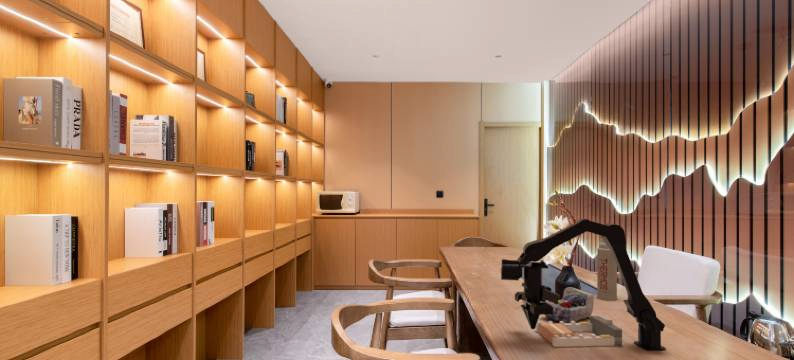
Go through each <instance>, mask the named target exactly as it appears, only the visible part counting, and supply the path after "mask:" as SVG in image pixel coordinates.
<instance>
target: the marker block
mask: <svg viewBox="0 0 794 360" xmlns="http://www.w3.org/2000/svg"><path fill="white" fill-rule="evenodd" d="M539 334H540V335H541V336H542V337H543V338H545V339H546V340H547V341H548V342H550V344H552V337H554V335H558V336H559V337H566V334H569V335H571V337H575V332H571V331H570V330H568V329H567V328H566V327H564V326H563V325H561V324H557V323H553V324H552V323H542V324H540V333H539Z"/></svg>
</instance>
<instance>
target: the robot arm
mask: <svg viewBox="0 0 794 360" xmlns="http://www.w3.org/2000/svg"><path fill="white" fill-rule="evenodd" d="M586 232H589V233H590V234H591V233H592V234H595V235H598V236H600V238H601V237H602V238H603V240H604V242H605V243H606V245H607V246H608V248H609V249H610V250H611V252H612V254H613V256H614V259H615V262H616V264H617V271H618V272H619V275H620V277H621V280H622V283H623V285H624V288H625V290H626V292H627V299H623V303H624V305H625V306H626V312H627V313H628V314H630V316H631V317H632V318H633V319H635V322H636V323H637V324H638V325H637V326H638V328H637V336H638V337H637V341H636V340H634V341H633V344H635V345H636V346H639V347H640V348H642V349H644V350H645V351H661V350H663V351H664V350H665V351H666V350H667V348H666V347H665V346H663V345H662V332H663V331H664V329H665V326H666V325H665V323H663V321H662V320H661V319H659V318H658V316H657V312H656V310H655V309H654V307H653V305H652V304H651V302H650V301H649V299H648V297H646V295H645V294H644V293H643V290H642V287H641V284H640V283H639V279H638V277H637V275H636V274H637V273H636V272H635V269H634V267H633V266H634V265H633V264H632V261H631V259H630V256H629V253H628V251H627V237H626V232H625V230H624V228H623V227H622V226H621V225H619V224H615V223H612V222H607V223H599V222H597V221H592V220H590V219H588V218H579V219H578V220H577V221H576V222H574V223H571V224H570V225H568V226H566V227H565V228H564V227H563V228H562V229H560V230H559V231H556V232H554V233H553V234H552V233H551V235H548V236H547V237H544V238H539V239H535V240H532V241H530V242H527V243H525V244H524V246H523V249H522V253H521V254H520V255H519V256H518V258H517V259H506V258H501V267H500V280H501V281H519V279H521V278H523V282H521V287H523V291H516V292H515V293H514V301H516V302H520V301H521V302H522V304H520V308H521V309H522V311H523V314H524V315H525V318H526V320H527V322H528V325H529V327H530V329H531V330H536V324H537V322H538V321H539V317H540V316H541V315H542V316H543V315H544V316H545V315H550V314H553V307H552V306H551V305H550V304H548V303H547V302H546V301H550V302H553V303H554V304H556V305H557V304H558V301H559V300H560V297H561V295H560V294H558V293H557V292H555V291H552V288H551V287H549V286H547V285H544V284H543V269H549V266H548V265H547V263H546V262H545V261H544V260H543V258H545V257H546V256H547V255H548V254H549V253H550V252H551V251H552V250H554V249H555V248H557V247H559V246H561V245H563V244H565V243H566V242H569V241H570V240H573V239H574V238H576V237H578V236H581V235H583V234H584V233H586Z"/></svg>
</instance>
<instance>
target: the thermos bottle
mask: <svg viewBox="0 0 794 360" xmlns="http://www.w3.org/2000/svg"><path fill="white" fill-rule="evenodd" d="M600 238H601V239H600V241H599V243H598V247H597V249H596V251H597V253H596V256H597V257H596V258H597V260H596V261H597V264H596V265H597V266H596V268H597V269H596V271H597V273H596V274H597V283H596V286H597V287H596V289H597V292H596V293H597V294H596V295H597V299H599V300H603V301H617V300H618V267H617V264H616V262H615V259H614V256H613V254H612V252H611V250H610V249H609V248H608V246H607V245H606V243H605V242H604V240H603V238H602V237H601V236H600Z"/></svg>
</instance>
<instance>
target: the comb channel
mask: <svg viewBox="0 0 794 360" xmlns="http://www.w3.org/2000/svg"><path fill="white" fill-rule="evenodd" d="M589 321H590V322H588V321H578V322H574V321H571V323H564V322H563V321H560V322H558V323H556V324H561V325H563V326H564V327H566V328H567V329H568V330H570V331H571V332H573V333H577V332H578V333H579V332H581V333H579V334H578V335H577V336H574V337H571V335H569V334H566V337H559V336H558V335H554V337H552V343H551V344H552V346H553V347H554V348H557V347H558V348H560V347H561V348H562V347H563V348H564V347H565V348H567V347H569V348H570V347H571V348H572V347H574V348H575V347H611V346H612V347H614V346H615V347H616V346H617V347H618V346H621V347H622V346H623V329H622V328H620V327H619V326H617V325H615V324H614V323H613V319H612V318H609V317H608V316H606V315H591V316H589ZM548 323H552V324H554V322H553V321H552V320H549V321H548ZM548 323H547V324H548ZM540 324H543V323H542V322H541V321H539V320H538V321H537V324H536V327H535V332H536V333H539V334H540ZM582 332H583V333H584V332H587V333H589V332H592V333H590V336H585V335H583V334H582Z"/></svg>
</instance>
